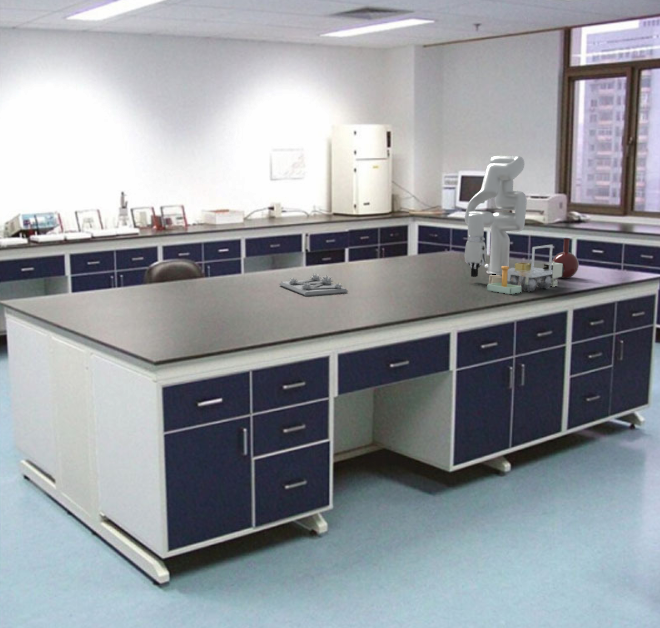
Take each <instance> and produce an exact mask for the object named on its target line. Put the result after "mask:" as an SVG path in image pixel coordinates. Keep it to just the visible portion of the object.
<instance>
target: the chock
mask: <svg viewBox="0 0 660 628" xmlns="http://www.w3.org/2000/svg"><path fill="white" fill-rule="evenodd" d="M498 282H499V283H502V275H492V274H488V284H492V283H498Z"/></svg>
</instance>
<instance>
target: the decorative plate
mask: <svg viewBox="0 0 660 628" xmlns="http://www.w3.org/2000/svg"><path fill="white" fill-rule="evenodd" d="M311 275H312V276H311ZM311 275H310V279H301V280H297V278H290V279H289V280H288V281H287V280H286V281H281V282H280V283H278V285H279V287H281V288H282V287H283V288H284V289H286V290H290V291H292V292H294V293H297V294H299V295H302V296H304V297H313V296H315V297H316V296H328V295H338V294H347V293H348V292H349V290H348V289H347V288H345V287H343V286H342V283H341V282H339V283H338V282H335V283H332V282H334V280H332V278H333V277H332V276H329V275H327V274H326V275H322V276H321V275H320V274H318V273H317V272H316V273H315V274H314V273H312V274H311Z"/></svg>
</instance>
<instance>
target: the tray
mask: <svg viewBox="0 0 660 628" xmlns="http://www.w3.org/2000/svg"><path fill="white" fill-rule="evenodd" d="M486 285H487V286H486V291H487V292H491V291H493V293H497V292H499V293H498V294H503V293H505V295H509V294H512V295H516V294H515V293H517V294H521V293H522V290H523V288H522V286H521V285H511V284H507V287H502V283H499V282H498V283H492V284H489V283H488V284H486ZM520 292H521V293H520Z"/></svg>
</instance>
